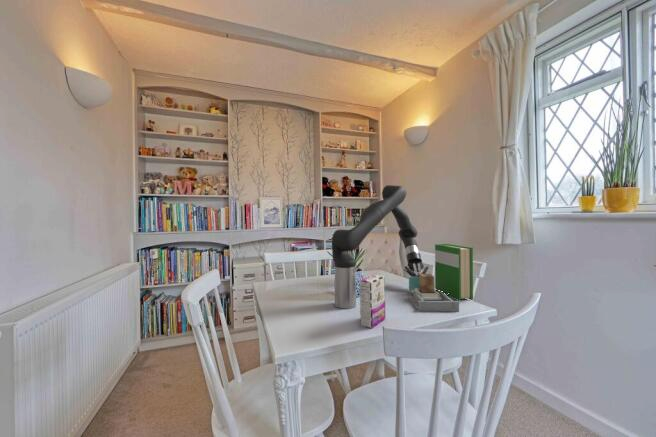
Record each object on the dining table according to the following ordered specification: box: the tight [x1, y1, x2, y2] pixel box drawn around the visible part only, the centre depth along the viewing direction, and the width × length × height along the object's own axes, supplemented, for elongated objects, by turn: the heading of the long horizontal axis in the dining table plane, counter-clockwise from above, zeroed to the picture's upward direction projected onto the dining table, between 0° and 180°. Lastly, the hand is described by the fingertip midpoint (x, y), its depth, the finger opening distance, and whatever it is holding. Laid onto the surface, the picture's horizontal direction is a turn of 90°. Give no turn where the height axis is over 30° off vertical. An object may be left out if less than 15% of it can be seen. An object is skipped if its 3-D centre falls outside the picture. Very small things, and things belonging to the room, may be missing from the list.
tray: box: [408, 276, 442, 300], centre depth 124 cm, size 12×15×7 cm
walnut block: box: [419, 273, 435, 293], centre depth 122 cm, size 5×5×9 cm
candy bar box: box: [359, 274, 386, 329], centre depth 97 cm, size 11×5×16 cm, turn 143°
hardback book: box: [434, 243, 474, 301], centre depth 129 cm, size 18×7×24 cm, turn 12°
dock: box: [408, 291, 460, 312], centre depth 115 cm, size 16×17×4 cm
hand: (419, 283), depth 133 cm, fingers closed
